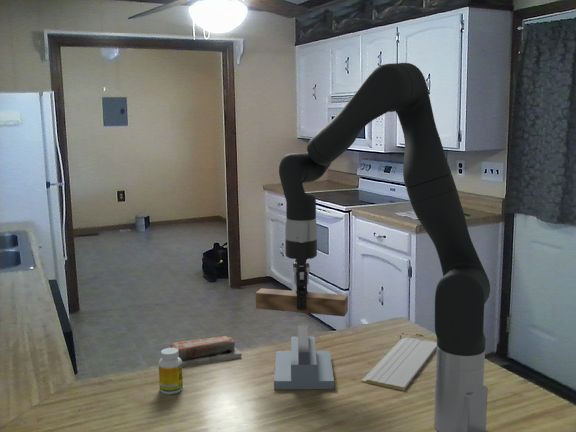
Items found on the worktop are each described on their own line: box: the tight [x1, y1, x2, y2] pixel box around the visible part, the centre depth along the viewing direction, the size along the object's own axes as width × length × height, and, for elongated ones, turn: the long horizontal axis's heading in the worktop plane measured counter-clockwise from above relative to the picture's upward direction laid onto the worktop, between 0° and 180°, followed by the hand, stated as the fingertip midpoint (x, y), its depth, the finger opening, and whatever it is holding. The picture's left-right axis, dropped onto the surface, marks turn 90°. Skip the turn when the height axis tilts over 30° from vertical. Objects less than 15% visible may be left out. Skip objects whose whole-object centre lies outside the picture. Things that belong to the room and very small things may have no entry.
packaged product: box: [169, 335, 243, 368], centre depth 157 cm, size 18×5×10 cm
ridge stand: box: [273, 325, 335, 390], centre depth 145 cm, size 14×18×9 cm
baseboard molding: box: [361, 332, 437, 392], centre depth 152 cm, size 31×3×12 cm
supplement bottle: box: [158, 347, 184, 395], centre depth 137 cm, size 5×5×10 cm
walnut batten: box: [255, 287, 349, 317], centre depth 143 cm, size 22×4×4 cm, turn 73°
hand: (301, 305), depth 143 cm, fingers closed on walnut batten, 5 cm apart
